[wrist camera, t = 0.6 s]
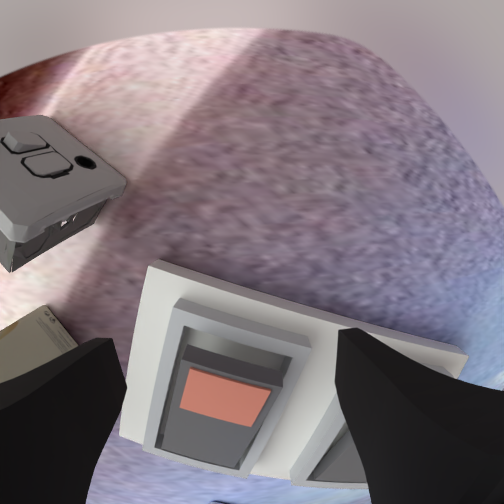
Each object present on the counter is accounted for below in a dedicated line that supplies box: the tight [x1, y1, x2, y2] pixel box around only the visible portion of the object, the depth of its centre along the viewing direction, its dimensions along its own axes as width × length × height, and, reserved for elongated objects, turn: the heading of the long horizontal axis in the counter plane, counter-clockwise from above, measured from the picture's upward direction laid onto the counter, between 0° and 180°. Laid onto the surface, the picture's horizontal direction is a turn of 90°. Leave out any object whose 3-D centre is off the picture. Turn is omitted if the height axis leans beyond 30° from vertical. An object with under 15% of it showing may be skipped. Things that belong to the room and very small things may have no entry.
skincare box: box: [0, 305, 78, 383], centre depth 14 cm, size 6×4×12 cm
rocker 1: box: [162, 344, 283, 468], centre depth 16 cm, size 9×5×1 cm, turn 162°
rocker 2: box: [314, 430, 367, 482], centre depth 16 cm, size 9×5×1 cm, turn 162°
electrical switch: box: [0, 115, 127, 273], centre depth 14 cm, size 9×5×9 cm, turn 52°
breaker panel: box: [119, 259, 469, 489], centre depth 19 cm, size 14×23×4 cm, turn 72°
